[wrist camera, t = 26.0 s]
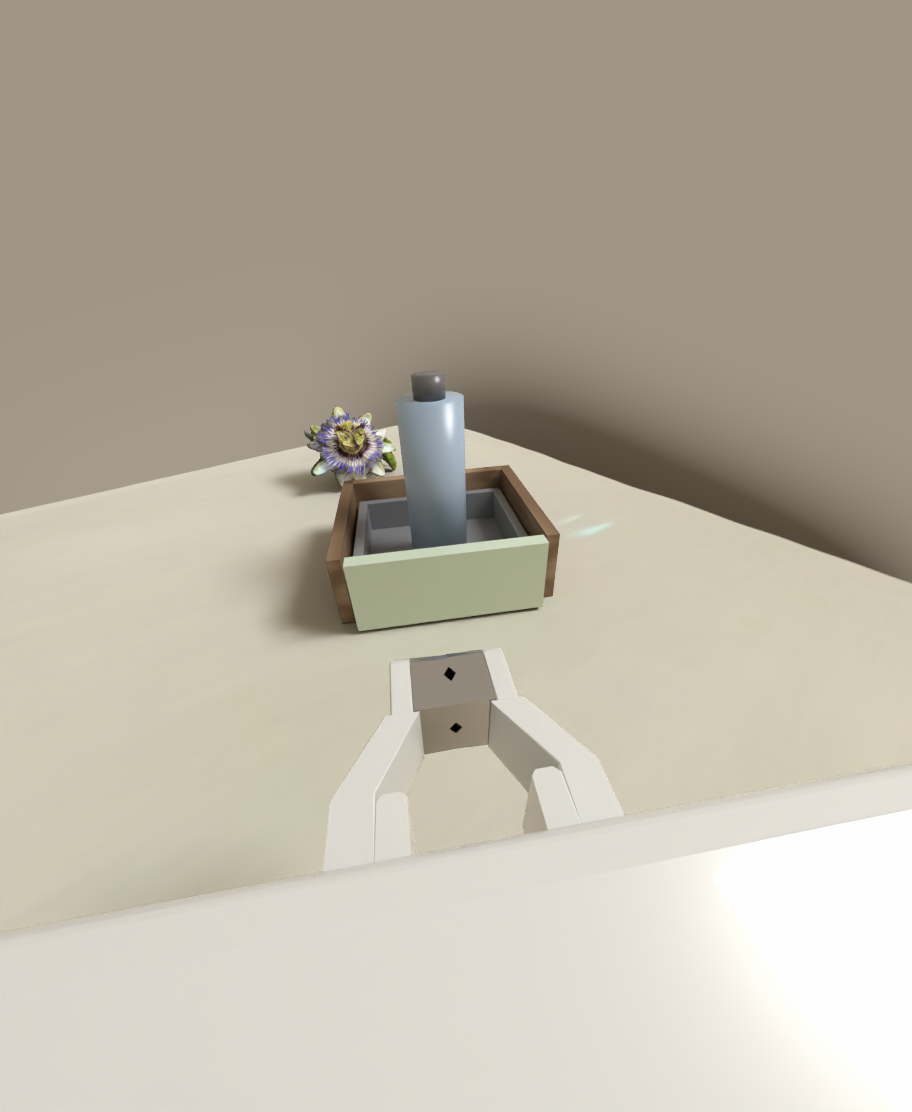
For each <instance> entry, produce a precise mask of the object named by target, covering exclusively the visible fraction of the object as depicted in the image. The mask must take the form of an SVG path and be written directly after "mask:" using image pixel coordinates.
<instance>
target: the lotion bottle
mask: <svg viewBox="0 0 912 1112" xmlns="http://www.w3.org/2000/svg"><path fill="white" fill-rule="evenodd" d="M411 382H412V393H409V394H405V395H402V396H399V397H397V398H396V400H395V403H396V411H397V420H398V429H399V437H400V446H401V454H402V463H403V471H404V480H405V488H406V497H407V505H408V514H409V523H410V531H411V540H412V548H413V550H414V549H423V548H432V547H440V546H449V545H458V544H466V543H467V522H466V481H465V440H464V401H463V395H461V394H460V393H456V392H451V391H445V374H444V373H443V372H436V371H435V372H434V371H428V372H418V373H414V374H412V375H411Z"/></svg>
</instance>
